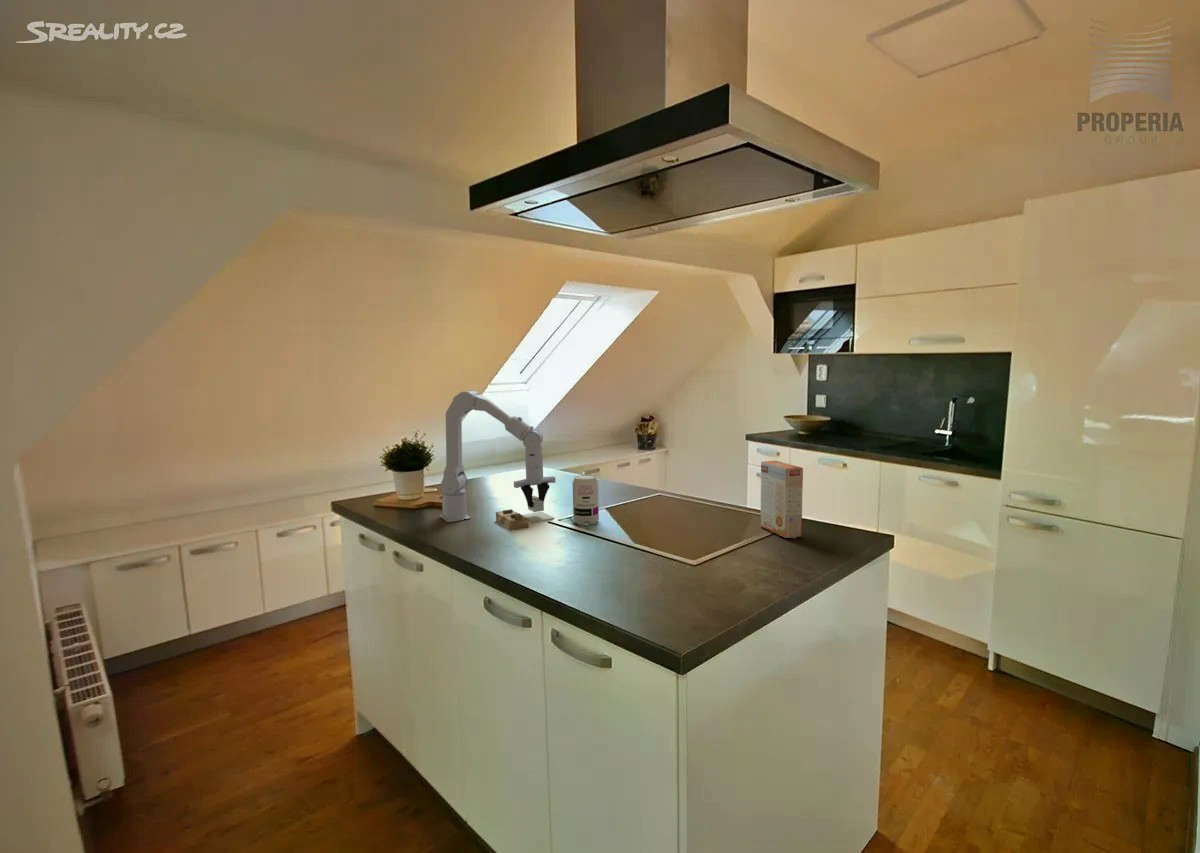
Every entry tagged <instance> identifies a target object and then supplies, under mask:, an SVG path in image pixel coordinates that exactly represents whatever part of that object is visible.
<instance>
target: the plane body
mask: <svg viewBox="0 0 1200 853" xmlns="http://www.w3.org/2000/svg"><path fill="white" fill-rule="evenodd" d="M523 515H524V514H521V513H519V512H517V511H515V510H513V509H512V508H511V509H503V510H502V511H496V512H495V521H496V522H497V521H498V522H497V523H499V522H500V523H501V525H502V524H503V526H504V525H505V526H504V527H506V528H507V527H508V529H509V530H511V531H512V530H514V531H517V530H524V529H529V528H530V524H529V519H528V518H526V517H525V516H523ZM500 523H499V524H500Z"/></svg>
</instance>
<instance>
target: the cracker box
mask: <svg viewBox="0 0 1200 853" xmlns="http://www.w3.org/2000/svg"><path fill="white" fill-rule="evenodd" d="M760 463H761V466H760V467H761V468H760V519H759V520H760V522H759V524H760V526H761V527H763V528H765V529H768V530H770V531H772V532H774V533H776V534H778V535H780V536H782V537H784V538H789V537H796V536H801V537H802V532H803V527H802V526H803V524H802V522H803V488H804V487H803V485H804V483H803V482H804V481H803V480H804V467H801V466H798V465H794V464H790V463H786V462H783V461H779V460H768V461H761V462H760ZM760 526H759V527H760ZM761 527H760V528H761ZM763 528H762V529H763ZM765 529H764V530H765Z"/></svg>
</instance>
